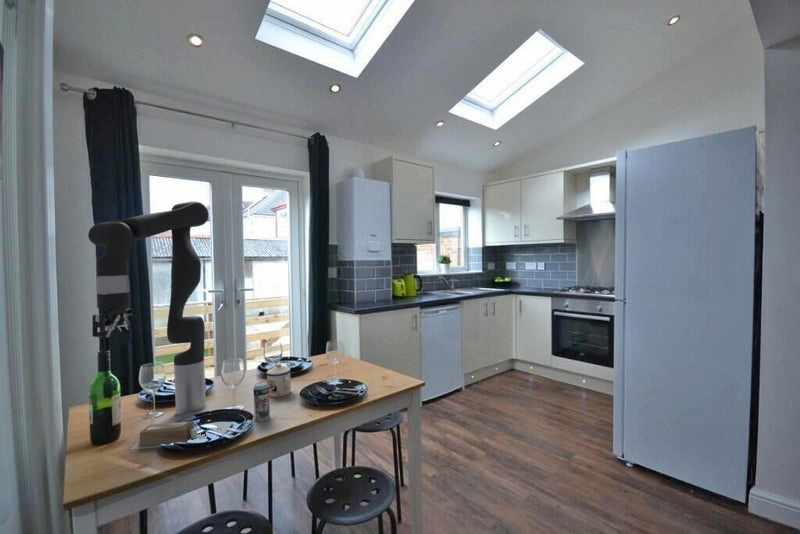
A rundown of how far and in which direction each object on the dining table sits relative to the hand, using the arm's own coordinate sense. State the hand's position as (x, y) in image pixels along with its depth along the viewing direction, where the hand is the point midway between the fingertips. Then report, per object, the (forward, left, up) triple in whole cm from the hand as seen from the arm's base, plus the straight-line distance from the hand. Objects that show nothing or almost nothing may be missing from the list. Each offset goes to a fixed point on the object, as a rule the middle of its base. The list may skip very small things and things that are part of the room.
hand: (115, 347), depth 104 cm
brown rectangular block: (+3, +15, -27) cm, 31 cm away
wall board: (0, +18, -28) cm, 33 cm away
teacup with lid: (-32, +39, -28) cm, 58 cm away
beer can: (-8, +38, -28) cm, 48 cm away
